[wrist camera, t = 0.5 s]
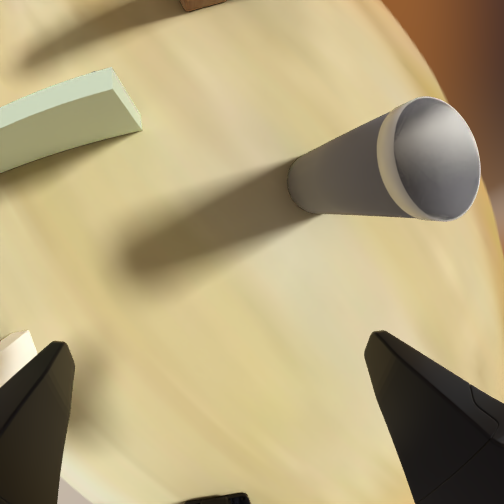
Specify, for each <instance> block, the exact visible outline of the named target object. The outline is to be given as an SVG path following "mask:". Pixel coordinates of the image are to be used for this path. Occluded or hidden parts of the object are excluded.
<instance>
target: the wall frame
mask: <svg viewBox="0 0 504 504" xmlns="http://www.w3.org/2000/svg"><path fill="white" fill-rule="evenodd" d="M37 354H38V353H37V351H36V348H35V346H34V343H33V340H32V338H31V335H30V332H29V330H26V331H20V332H14V333H11V334H10V335H8V336H7V337H5V338H4V339H3V340H1V341H0V387H1V386H3V385H4V384H5V383H6V382H7V381H8V380H9V379H10V378H11V377H12V376H14V375H15V374H16V373H17V372H18V371H19V370H20V369H21V368H22V367H24V366H25V365H26V364H27V363H28V362H29V361H30V360H32V359H33V358H34V357H35V356H36V355H37Z"/></svg>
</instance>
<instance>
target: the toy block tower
mask: <svg viewBox="0 0 504 504" xmlns="http://www.w3.org/2000/svg"><path fill="white" fill-rule="evenodd" d="M225 1H227V0H180V2H181V4H182V6H183V8H184V9H185V10H186V11H192V10H196V9H199V8H203V7H206V6H210V5H214V4H218V3H222V2H225Z"/></svg>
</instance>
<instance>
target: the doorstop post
mask: <svg viewBox="0 0 504 504" xmlns="http://www.w3.org/2000/svg"><path fill="white" fill-rule="evenodd" d="M479 183H480V160H479V153H478V149H477V145H476V142H475V139H474V137H473V135H472V133H471V131H470V129H469V127H468V125H467V124H466V122H465V120H464V119H463V118H462V117H461V116H460V114H459V113H458V112H456V110H455V109H454V108H453V107H451V106H450V105H449V104H447V103H446V102H444V101H442V100H440V99H437V98H434V97H419V98H416V99H413V100H411V101H409V102H407V103H405V104H402V105H400V106H398V107H396V108H395V109H393V110H392V111H391V112H389V113H386V114H384V115H382V116H380V117H378V118H376V119H374V120H372V121H370V122H368V123H366V124H363V125H361V126H359V127H357V128H355V129H353V130H351V131H349V132H347V133H345V134H343V135H341V136H339V137H337V138H335V139H333V140H331V141H329V142H327V143H326V144H324V145H322V146H320V147H318V148H316V149H314V150H312V151H310V152H308V153H306V154H304V155H302V156H301V157H299V158H298V159H297V160H296V161H295V162H294V163H293V164H292V166H291V168H290V170H289V173H288V179H287V184H288V190H289V193H290V195H291V197H292V199H293V201H294V202H295V203H296V204H297V205H298V206H299V207H300V208H301V209H303V210H305V211H307V212H310V213H314V214H341V215H365V216H386V217H405V218H417V219H421V220H431V221H452V220H455V219H457V218H459V217H461V216H462V215H463V214H465V213H466V212H467V210H468V209H469V208H470V207H471V205H472V203H473V202H474V200H475V197H476V195H477V192H478V188H479Z"/></svg>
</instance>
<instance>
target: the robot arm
mask: <svg viewBox="0 0 504 504" xmlns="http://www.w3.org/2000/svg"><path fill="white" fill-rule="evenodd" d="M364 357H365V361H366V364H367V368H368V371H369V375H370V378H371V382H372V385H373V389H374V392H375V396H376V399H377V401H378V404H379V407H380V409H381V412H382V414H383V417H384V419H385V422H386V424H387V427H388V430H389V432H390V435H391V437H392V440H393V443H394V445H395V448H396V451H397V454H398V456H399V459H400V462H401V464H402V467H403V470H404V473H405V476H406V478H407V481H408V484H409V487H410V490H411V493H412V496H413V499H414V502H415V504H504V403H502V402H500V401H498V400H496V399H494V398H492V397H491V396H489V395H487V394H486V393H484V392H482V391H481V390H479V389H477V388H476V387H474V386H473V385H470V384H469V383H468V382H466V381H465V380H463V379H461V378H460V377H458V376H457V375H455V374H454V373H452V372H450V371H449V370H447V369H446V368H444V367H442V366H441V365H439V364H438V363H436V362H434V361H433V360H431V359H430V358H428V357H427V356H425V355H423V354H422V353H420V352H419V351H417V350H415V349H414V348H412V347H411V346H409V345H407V344H406V343H404V342H403V341H401V340H399V339H398V338H396V337H395V336H393V335H391V334H390V333H388V332H387V331H384V330H381V331H374V332H372V334H371V335H370V338H369V341H368V343H367V346H366V349H365V352H364ZM74 372H75V364H74V360H73V358H72V355H71V353H70V350H69V348H68V345H67V344H66V343H65V342H61V341H53V342H51V343H50V344H49V345H48V346H46V347H45V348H44V349H43V350H42V351H41V352H40V353H38V354H37V355H36V356H35V357H34V358H33V359H32V360H30V361H29V362H28V363H27V364H26V365H25V366H24V367H22V368H21V369H20V370H19V371H18V372H17V373H16V374H15V375H14V376H12V377H11V378H10V379H9V380H8V381H7V382H6V383H5V384H4V385H3V386H1V387H0V504H57V499H58V489H59V480H60V472H61V464H62V457H63V451H64V444H65V438H66V433H67V427H68V422H69V416H70V409H71V398H72V389H73V380H74ZM184 504H251V502H250V500H249V497H248V495H247V494H246V493H240V494H235V495H230V496H224V497H218V498H211V499H205V500H197V501H189V502H185V503H184Z"/></svg>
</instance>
